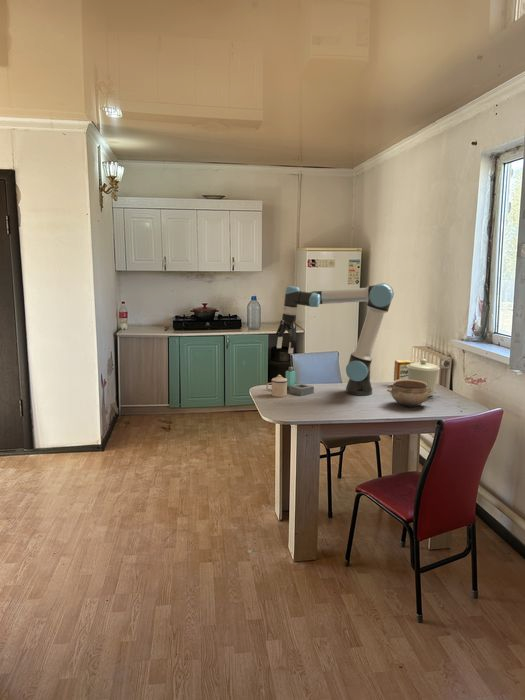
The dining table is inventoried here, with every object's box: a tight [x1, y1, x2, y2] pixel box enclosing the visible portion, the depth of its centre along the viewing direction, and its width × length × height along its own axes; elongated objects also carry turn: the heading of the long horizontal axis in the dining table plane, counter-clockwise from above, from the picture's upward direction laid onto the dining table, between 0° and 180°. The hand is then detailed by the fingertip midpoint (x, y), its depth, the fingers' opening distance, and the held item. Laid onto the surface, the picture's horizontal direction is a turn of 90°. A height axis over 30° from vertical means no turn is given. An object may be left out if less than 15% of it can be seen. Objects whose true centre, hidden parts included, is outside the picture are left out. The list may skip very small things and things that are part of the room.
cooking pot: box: [386, 379, 432, 408], centre depth 274 cm, size 25×19×12 cm
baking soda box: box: [392, 359, 415, 386], centre depth 316 cm, size 10×6×16 cm
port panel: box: [288, 383, 315, 397], centre depth 297 cm, size 10×10×4 cm
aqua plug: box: [285, 366, 296, 387], centre depth 303 cm, size 4×4×14 cm
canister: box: [407, 358, 441, 398], centre depth 296 cm, size 18×18×21 cm
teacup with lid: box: [265, 374, 288, 398], centre depth 290 cm, size 12×9×12 cm
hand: (284, 350), depth 295 cm, fingers open, 13 cm apart
